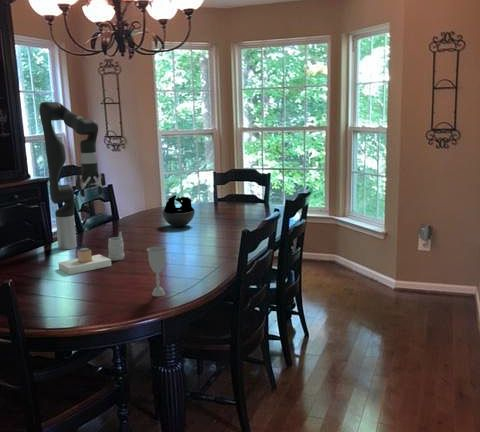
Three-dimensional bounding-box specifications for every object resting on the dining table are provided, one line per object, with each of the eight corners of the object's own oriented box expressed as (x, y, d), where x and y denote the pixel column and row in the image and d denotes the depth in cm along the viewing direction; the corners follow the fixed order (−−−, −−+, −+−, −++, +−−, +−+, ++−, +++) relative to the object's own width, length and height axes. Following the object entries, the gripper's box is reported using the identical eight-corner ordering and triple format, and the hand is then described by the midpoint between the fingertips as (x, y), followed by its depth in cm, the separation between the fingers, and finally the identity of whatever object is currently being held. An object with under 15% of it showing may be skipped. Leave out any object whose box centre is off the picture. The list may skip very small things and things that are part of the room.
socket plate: (58, 268, 233) (58, 262, 232) (100, 260, 246) (99, 254, 245) (69, 274, 224) (68, 268, 223) (111, 265, 237) (111, 259, 236)
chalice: (168, 290, 201) (166, 246, 198) (167, 296, 195) (165, 251, 191) (150, 291, 201) (147, 246, 198) (147, 297, 195) (145, 251, 191)
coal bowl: (193, 229, 308) (192, 199, 305) (160, 230, 309) (158, 199, 305) (196, 223, 328) (195, 193, 324) (165, 223, 328) (164, 194, 325)
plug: (78, 267, 235) (77, 249, 233) (88, 265, 238) (86, 247, 236) (82, 269, 232) (81, 251, 230) (92, 267, 235) (91, 249, 233)
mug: (105, 260, 246) (104, 236, 243) (116, 253, 257) (114, 230, 255) (120, 261, 244) (119, 236, 242) (130, 254, 256) (129, 231, 253)
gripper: (99, 160, 252) (101, 193, 255) (71, 162, 243) (74, 196, 246) (106, 161, 246) (108, 195, 250) (78, 163, 237) (80, 198, 241)
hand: (91, 195), depth 248 cm, fingers open, 8 cm apart
